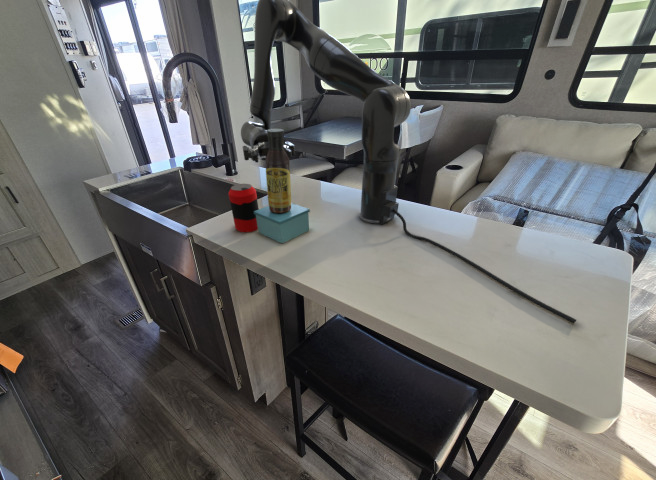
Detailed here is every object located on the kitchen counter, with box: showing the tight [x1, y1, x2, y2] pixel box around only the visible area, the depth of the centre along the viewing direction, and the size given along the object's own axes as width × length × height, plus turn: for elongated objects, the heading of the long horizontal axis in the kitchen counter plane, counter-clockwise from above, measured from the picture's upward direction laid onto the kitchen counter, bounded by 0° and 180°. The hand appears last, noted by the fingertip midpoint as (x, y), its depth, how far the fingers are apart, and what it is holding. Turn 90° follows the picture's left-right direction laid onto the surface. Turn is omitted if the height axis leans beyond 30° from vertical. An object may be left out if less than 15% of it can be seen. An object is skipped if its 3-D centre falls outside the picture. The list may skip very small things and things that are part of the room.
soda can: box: [228, 183, 260, 234], centre depth 89 cm, size 8×8×12 cm
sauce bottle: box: [265, 128, 292, 213], centre depth 79 cm, size 6×6×20 cm
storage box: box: [254, 202, 311, 244], centre depth 87 cm, size 11×11×6 cm
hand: (272, 156), depth 82 cm, fingers open, 8 cm apart
